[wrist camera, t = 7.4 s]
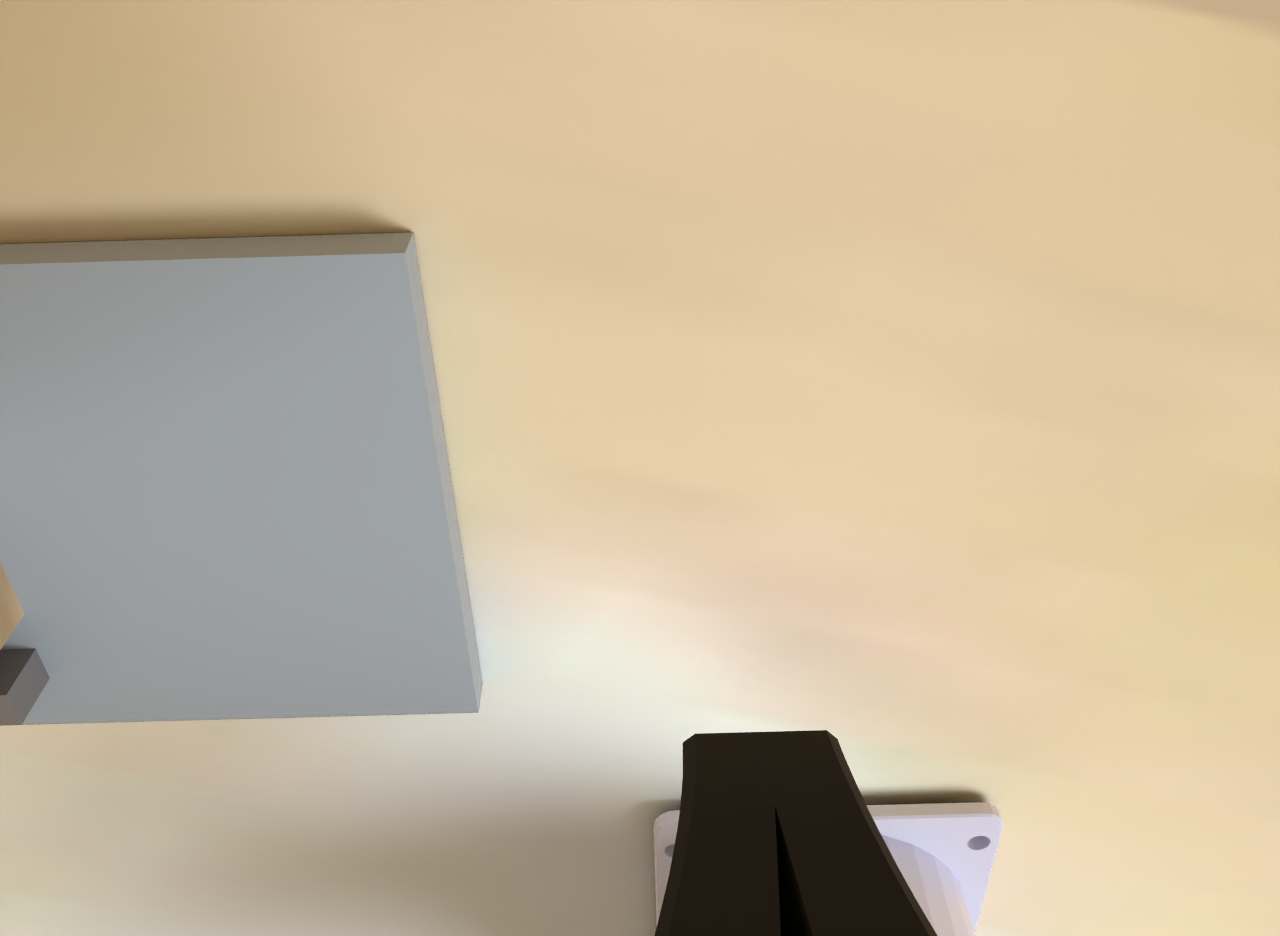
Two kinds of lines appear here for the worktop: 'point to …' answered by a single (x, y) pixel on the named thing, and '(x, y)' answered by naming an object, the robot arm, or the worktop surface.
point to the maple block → (8, 608)
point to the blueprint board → (226, 484)
